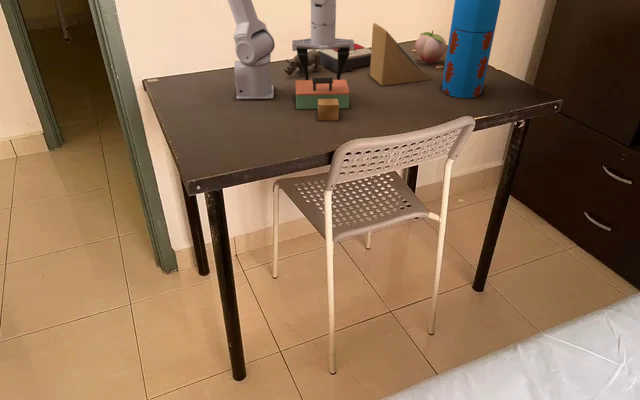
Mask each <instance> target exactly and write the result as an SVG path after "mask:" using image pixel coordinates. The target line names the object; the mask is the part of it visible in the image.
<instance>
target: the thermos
mask: <svg viewBox="0 0 640 400" xmlns="http://www.w3.org/2000/svg"><path fill="white" fill-rule="evenodd" d="M501 2H502V1H501V0H454V4H453V10H452V18H451V25H450V30H449V37H448V43H447V48H446V50H447V51H446V57H445V63H444V67H443V68H444V70H443V76H442V86H441V87H442V88H441V91H443V93H444V94H447V96H451V97H454V98H460V99H472V98H476V97H477V98H478V97H479V96H480V95H481V94H482V92H483V88H484V85H485V80H486V76H487V71H488V67H489V61H490V56H491V51H492V46H493V41H494V37H495V33H496V27H497V21H498V18H499V11H500V7H501Z"/></svg>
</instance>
